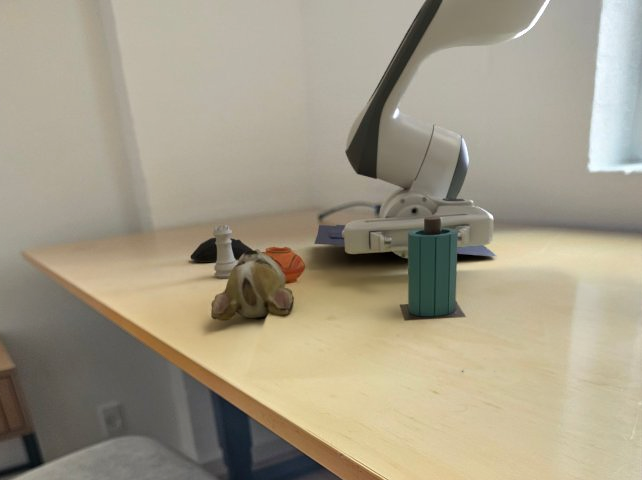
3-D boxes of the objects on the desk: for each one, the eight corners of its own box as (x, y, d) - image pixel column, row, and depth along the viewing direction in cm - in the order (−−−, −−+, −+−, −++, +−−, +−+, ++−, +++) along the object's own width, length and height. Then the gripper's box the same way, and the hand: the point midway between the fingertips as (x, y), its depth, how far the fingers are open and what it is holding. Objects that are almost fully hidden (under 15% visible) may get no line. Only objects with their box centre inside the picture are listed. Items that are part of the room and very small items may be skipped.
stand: (456, 312, 82) (459, 211, 76) (465, 329, 76) (469, 220, 70) (399, 316, 82) (398, 215, 77) (404, 332, 76) (404, 225, 71)
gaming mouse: (269, 257, 123) (267, 235, 122) (190, 264, 122) (187, 242, 120) (267, 251, 129) (265, 230, 127) (191, 258, 128) (188, 237, 126)
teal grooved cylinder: (450, 302, 81) (452, 226, 76) (458, 315, 76) (460, 234, 71) (406, 305, 81) (406, 229, 77) (410, 318, 76) (410, 237, 72)
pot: (260, 280, 104) (266, 237, 101) (306, 292, 103) (314, 249, 100) (241, 291, 98) (247, 245, 94) (290, 304, 96) (298, 258, 93)
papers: (318, 237, 130) (319, 218, 129) (470, 246, 129) (473, 227, 128) (312, 262, 109) (314, 240, 107) (494, 273, 108) (498, 250, 106)
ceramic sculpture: (294, 234, 90) (287, 263, 77) (300, 296, 94) (294, 333, 81) (217, 240, 90) (198, 270, 78) (227, 301, 95) (210, 339, 82)
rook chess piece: (225, 272, 114) (219, 224, 110) (246, 273, 112) (240, 224, 108) (209, 278, 111) (202, 228, 107) (230, 279, 109) (224, 229, 105)
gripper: (340, 208, 96) (340, 223, 84) (482, 198, 94) (503, 211, 82) (342, 252, 99) (343, 272, 87) (480, 243, 97) (500, 262, 85)
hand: (422, 242), depth 84 cm, fingers open, 8 cm apart
